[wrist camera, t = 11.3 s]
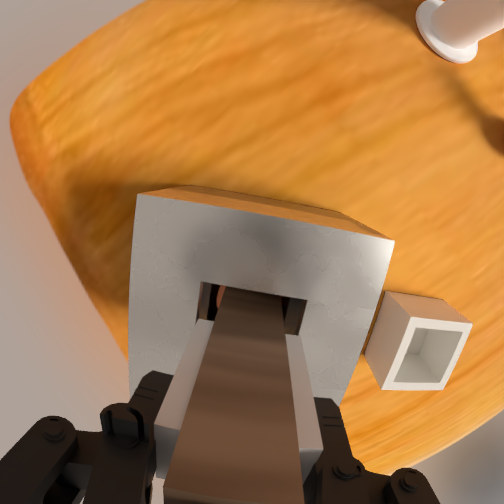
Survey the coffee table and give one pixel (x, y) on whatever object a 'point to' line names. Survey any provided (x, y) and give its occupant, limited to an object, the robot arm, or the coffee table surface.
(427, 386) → the pen cup
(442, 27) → the candle
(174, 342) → the grey box with hole
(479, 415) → the coffee table surface
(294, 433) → the wood knob block
